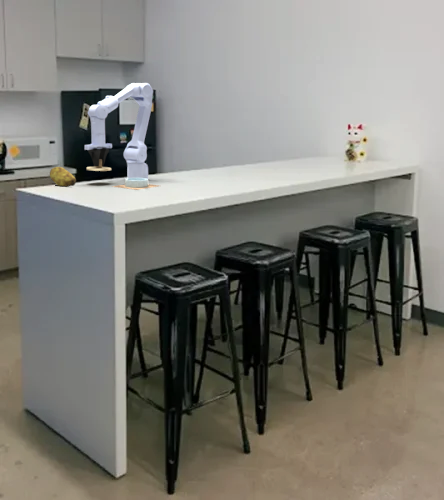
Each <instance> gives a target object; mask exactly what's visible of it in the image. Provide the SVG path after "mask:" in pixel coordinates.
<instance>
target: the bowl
mask: <svg viewBox="0 0 444 500" xmlns="http://www.w3.org/2000/svg"><path fill="white" fill-rule="evenodd" d="M148 184H149V178H148V179H147V178H126V177H125V178H124V185H125V186H126V187H131V188H144V187H148Z"/></svg>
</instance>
